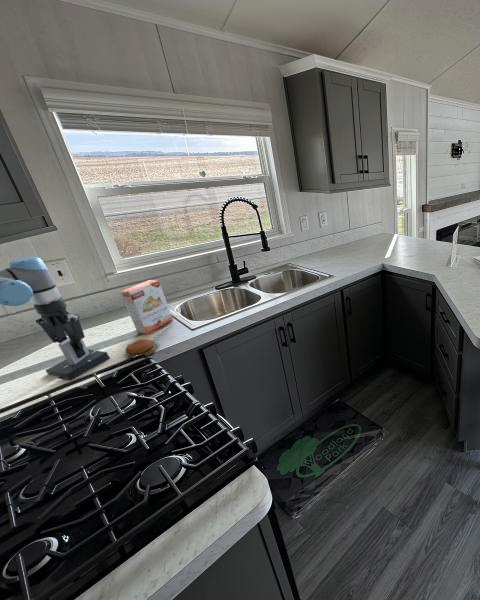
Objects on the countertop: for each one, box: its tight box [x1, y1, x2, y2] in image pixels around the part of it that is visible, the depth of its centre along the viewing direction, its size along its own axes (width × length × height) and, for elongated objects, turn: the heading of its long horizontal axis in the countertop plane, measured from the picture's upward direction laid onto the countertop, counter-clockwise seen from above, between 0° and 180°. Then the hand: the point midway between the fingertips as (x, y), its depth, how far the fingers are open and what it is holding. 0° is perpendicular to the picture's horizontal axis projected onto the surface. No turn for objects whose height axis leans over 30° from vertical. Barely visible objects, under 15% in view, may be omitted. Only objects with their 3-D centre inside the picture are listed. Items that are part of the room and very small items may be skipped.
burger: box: [125, 338, 157, 359], centre depth 132 cm, size 10×9×5 cm
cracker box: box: [119, 279, 174, 335], centre depth 149 cm, size 14×6×21 cm, turn 165°
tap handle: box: [58, 337, 90, 365], centre depth 123 cm, size 7×2×9 cm, turn 4°
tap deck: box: [45, 348, 111, 382], centre depth 125 cm, size 14×11×3 cm
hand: (78, 356), depth 125 cm, fingers closed on tap handle, 2 cm apart
